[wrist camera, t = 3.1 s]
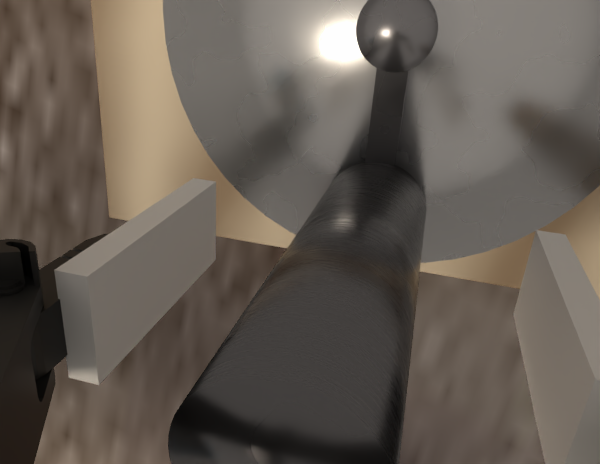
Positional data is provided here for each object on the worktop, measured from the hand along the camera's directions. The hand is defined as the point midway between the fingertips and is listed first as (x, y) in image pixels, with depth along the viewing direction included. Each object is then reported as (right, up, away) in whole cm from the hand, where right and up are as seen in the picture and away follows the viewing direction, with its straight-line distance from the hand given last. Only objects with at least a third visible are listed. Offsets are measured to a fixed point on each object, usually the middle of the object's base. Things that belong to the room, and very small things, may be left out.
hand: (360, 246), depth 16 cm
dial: (+2, +7, +2) cm, 8 cm away
